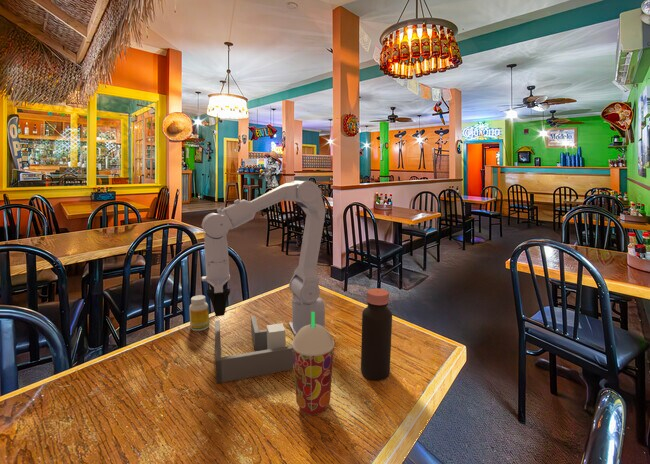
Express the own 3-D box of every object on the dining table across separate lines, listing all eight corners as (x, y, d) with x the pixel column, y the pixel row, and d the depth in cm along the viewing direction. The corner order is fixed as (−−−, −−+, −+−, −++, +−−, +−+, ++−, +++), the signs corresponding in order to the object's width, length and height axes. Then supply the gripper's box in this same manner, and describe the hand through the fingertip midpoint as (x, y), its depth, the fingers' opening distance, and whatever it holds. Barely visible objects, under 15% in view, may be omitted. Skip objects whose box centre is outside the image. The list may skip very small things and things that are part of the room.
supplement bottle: (188, 326, 100) (185, 296, 98) (205, 321, 103) (203, 292, 101) (194, 333, 96) (191, 302, 94) (212, 328, 99) (210, 298, 97)
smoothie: (292, 392, 70) (291, 304, 66) (331, 390, 71) (332, 303, 67) (292, 421, 62) (290, 322, 58) (336, 419, 63) (337, 321, 59)
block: (282, 351, 85) (282, 323, 84) (285, 360, 81) (285, 330, 80) (267, 354, 84) (266, 325, 83) (269, 362, 80) (268, 332, 79)
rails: (277, 330, 98) (277, 312, 97) (293, 369, 78) (293, 348, 77) (215, 339, 92) (214, 321, 91) (216, 383, 73) (215, 361, 72)
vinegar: (387, 384, 73) (390, 299, 69) (357, 377, 75) (359, 295, 72) (391, 367, 79) (395, 288, 76) (364, 361, 82) (366, 285, 78)
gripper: (201, 254, 90) (204, 301, 93) (199, 269, 77) (202, 323, 79) (228, 252, 92) (230, 298, 95) (230, 266, 79) (233, 319, 81)
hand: (219, 309), depth 87 cm, fingers open, 7 cm apart
